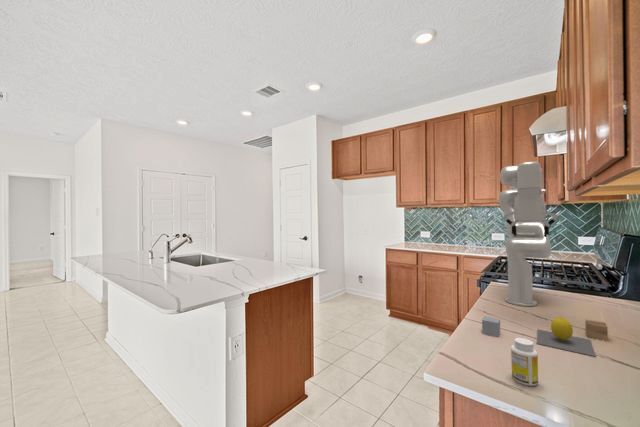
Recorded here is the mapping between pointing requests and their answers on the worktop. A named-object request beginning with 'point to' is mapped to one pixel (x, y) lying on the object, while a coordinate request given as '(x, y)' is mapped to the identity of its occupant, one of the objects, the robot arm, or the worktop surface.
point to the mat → (565, 343)
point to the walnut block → (596, 330)
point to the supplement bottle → (524, 362)
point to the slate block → (491, 326)
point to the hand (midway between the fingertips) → (529, 236)
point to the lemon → (561, 328)
